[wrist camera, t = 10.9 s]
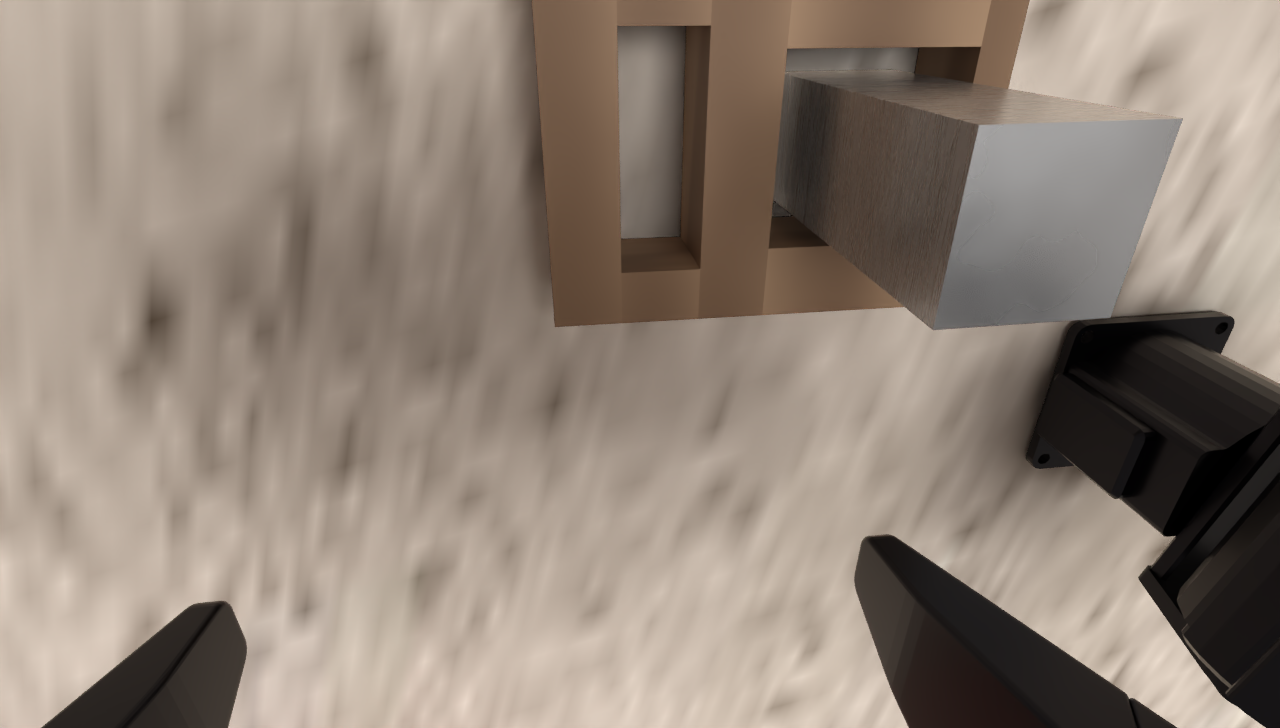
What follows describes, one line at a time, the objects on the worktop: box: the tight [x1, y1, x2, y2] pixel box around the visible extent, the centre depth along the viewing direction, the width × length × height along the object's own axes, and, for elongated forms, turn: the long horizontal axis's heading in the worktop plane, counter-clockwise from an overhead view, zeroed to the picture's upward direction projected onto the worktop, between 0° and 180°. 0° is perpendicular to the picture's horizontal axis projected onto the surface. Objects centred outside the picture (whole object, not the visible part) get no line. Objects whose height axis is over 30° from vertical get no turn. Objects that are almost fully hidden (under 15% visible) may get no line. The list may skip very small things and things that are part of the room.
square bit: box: [773, 69, 1183, 330], centre depth 16 cm, size 4×4×10 cm
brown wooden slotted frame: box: [532, 0, 1030, 327], centre depth 18 cm, size 12×9×3 cm
